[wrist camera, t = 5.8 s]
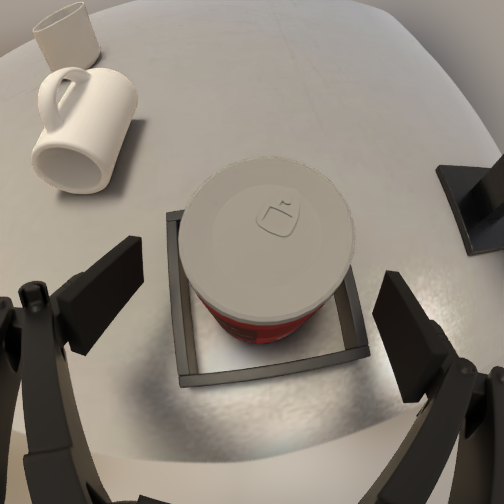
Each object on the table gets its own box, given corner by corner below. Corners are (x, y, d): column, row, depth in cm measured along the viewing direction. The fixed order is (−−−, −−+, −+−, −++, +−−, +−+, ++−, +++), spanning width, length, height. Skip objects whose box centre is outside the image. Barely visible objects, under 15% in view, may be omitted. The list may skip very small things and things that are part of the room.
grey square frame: (322, 209, 26) (329, 191, 23) (356, 357, 21) (371, 356, 18) (174, 229, 25) (165, 212, 22) (189, 385, 20) (179, 388, 17)
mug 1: (94, 72, 35) (71, 16, 25) (48, 88, 35) (22, 39, 24) (112, 38, 39) (97, -10, 29) (71, 52, 39) (53, 8, 29)
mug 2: (146, 117, 30) (117, 29, 19) (122, 193, 26) (66, 101, 15) (86, 125, 30) (47, 51, 19) (56, 197, 26) (-7, 124, 15)
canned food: (318, 254, 24) (360, 172, 14) (301, 354, 21) (344, 340, 11) (225, 235, 25) (208, 143, 14) (199, 331, 22) (152, 298, 12)
